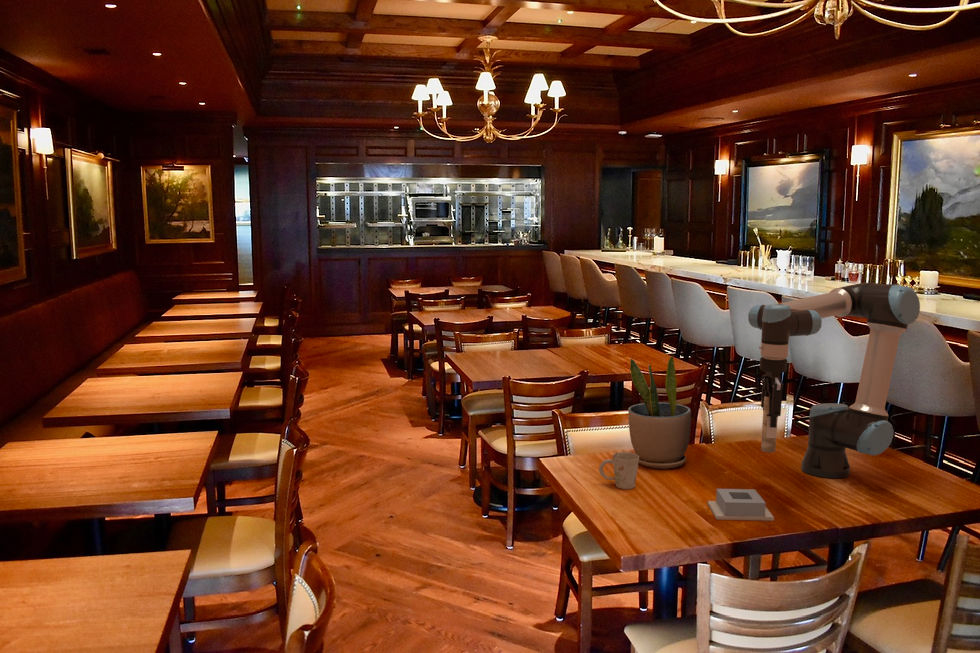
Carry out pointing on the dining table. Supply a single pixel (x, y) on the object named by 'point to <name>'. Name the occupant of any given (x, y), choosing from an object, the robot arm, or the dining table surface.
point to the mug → (623, 469)
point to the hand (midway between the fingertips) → (769, 435)
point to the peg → (766, 443)
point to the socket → (739, 505)
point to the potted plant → (658, 422)
